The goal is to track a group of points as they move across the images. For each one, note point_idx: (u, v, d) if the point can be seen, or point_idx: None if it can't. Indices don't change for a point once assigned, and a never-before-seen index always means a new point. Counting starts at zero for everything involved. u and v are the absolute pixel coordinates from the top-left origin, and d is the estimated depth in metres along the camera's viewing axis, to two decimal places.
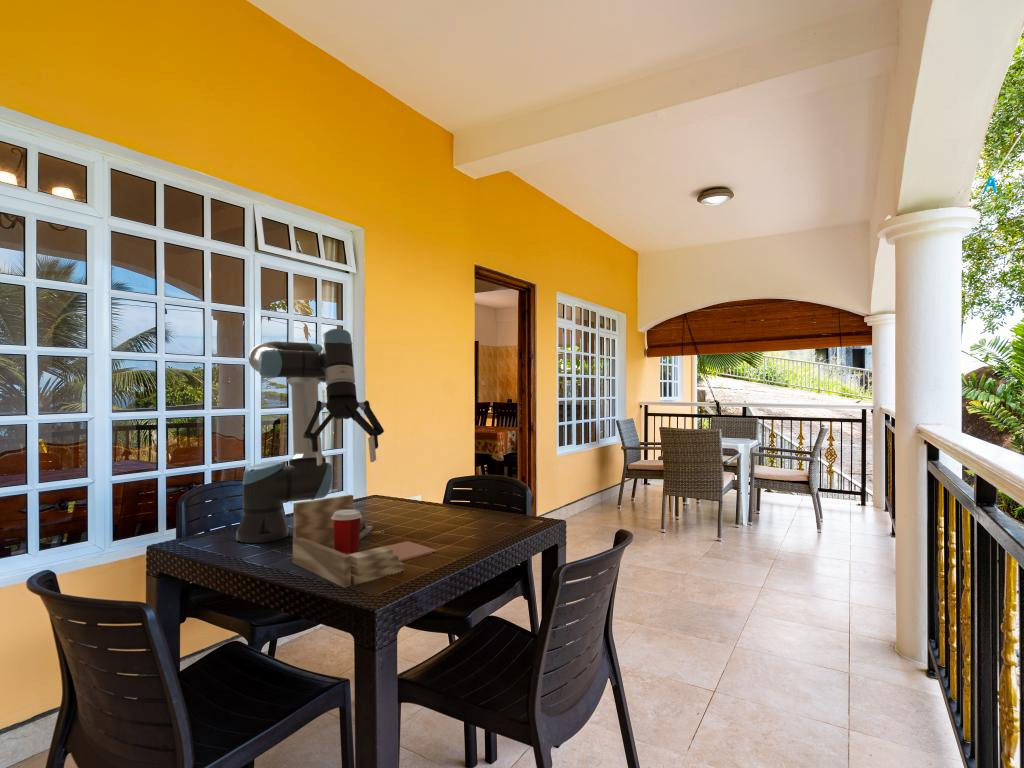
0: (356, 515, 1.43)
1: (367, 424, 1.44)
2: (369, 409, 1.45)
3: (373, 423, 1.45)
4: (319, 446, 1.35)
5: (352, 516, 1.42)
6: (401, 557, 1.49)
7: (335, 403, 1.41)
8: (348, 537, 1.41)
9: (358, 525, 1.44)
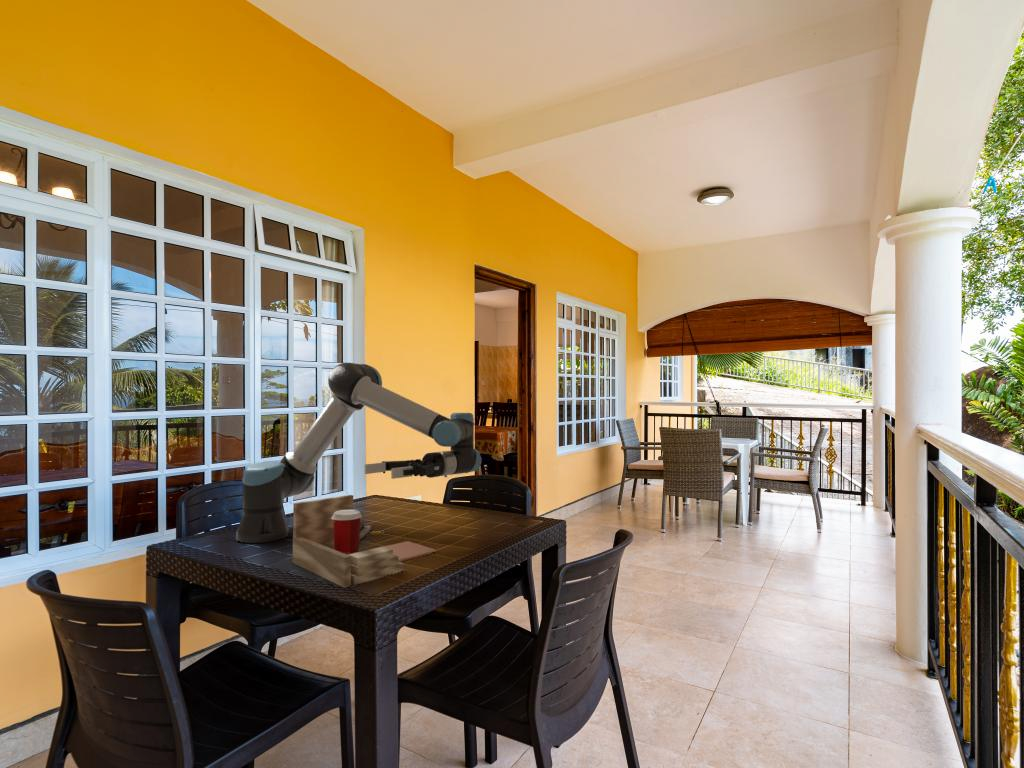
0: (356, 515, 1.43)
1: None
2: None
3: None
4: (405, 476, 1.50)
5: (352, 516, 1.42)
6: (401, 557, 1.49)
7: None
8: (348, 537, 1.41)
9: (358, 525, 1.44)
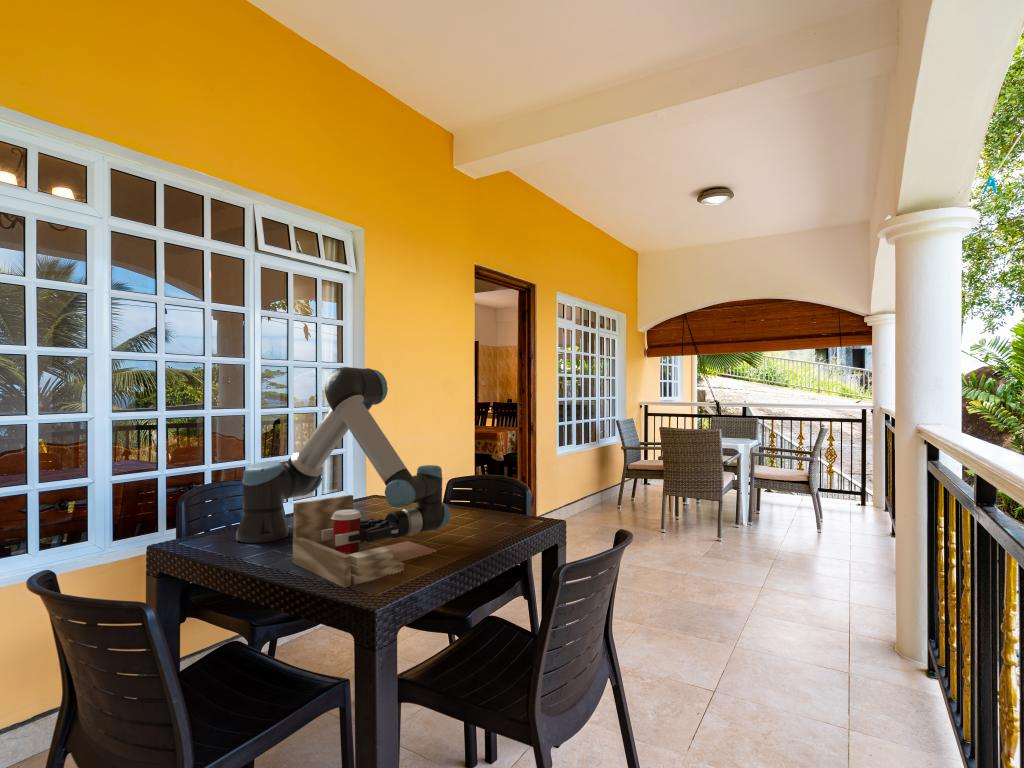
0: (356, 515, 1.43)
1: None
2: None
3: None
4: None
5: (352, 516, 1.42)
6: (401, 557, 1.49)
7: None
8: None
9: (358, 525, 1.44)
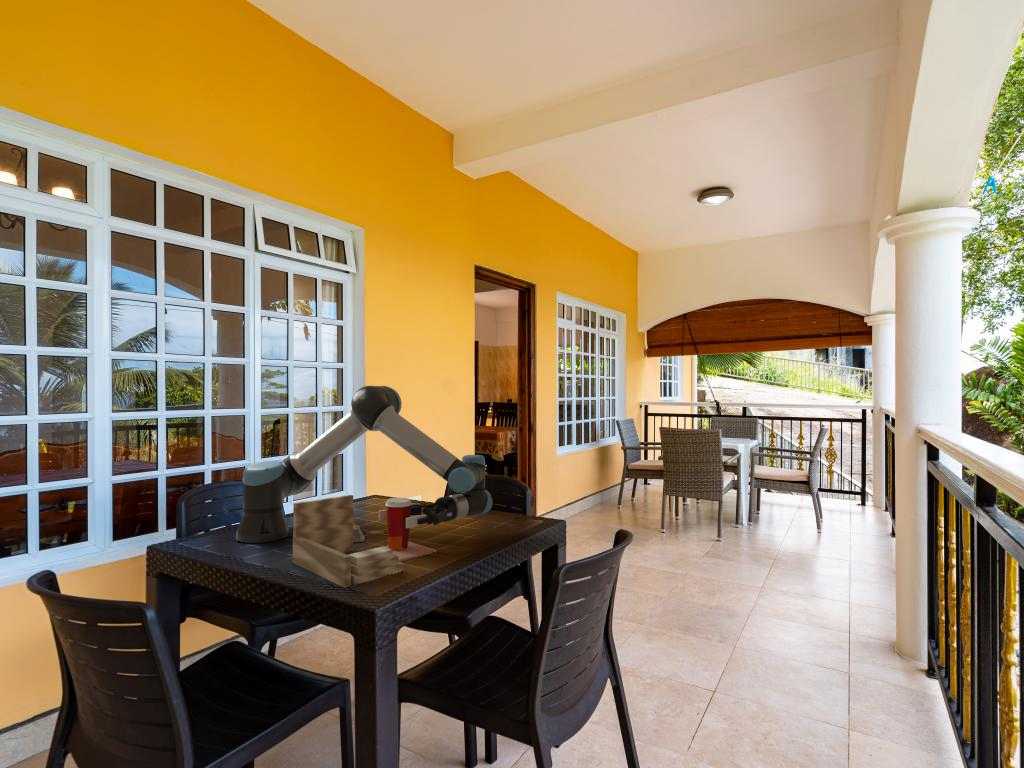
0: (408, 503, 1.56)
1: None
2: None
3: None
4: None
5: (404, 503, 1.55)
6: (401, 557, 1.49)
7: None
8: (401, 522, 1.55)
9: (409, 512, 1.57)
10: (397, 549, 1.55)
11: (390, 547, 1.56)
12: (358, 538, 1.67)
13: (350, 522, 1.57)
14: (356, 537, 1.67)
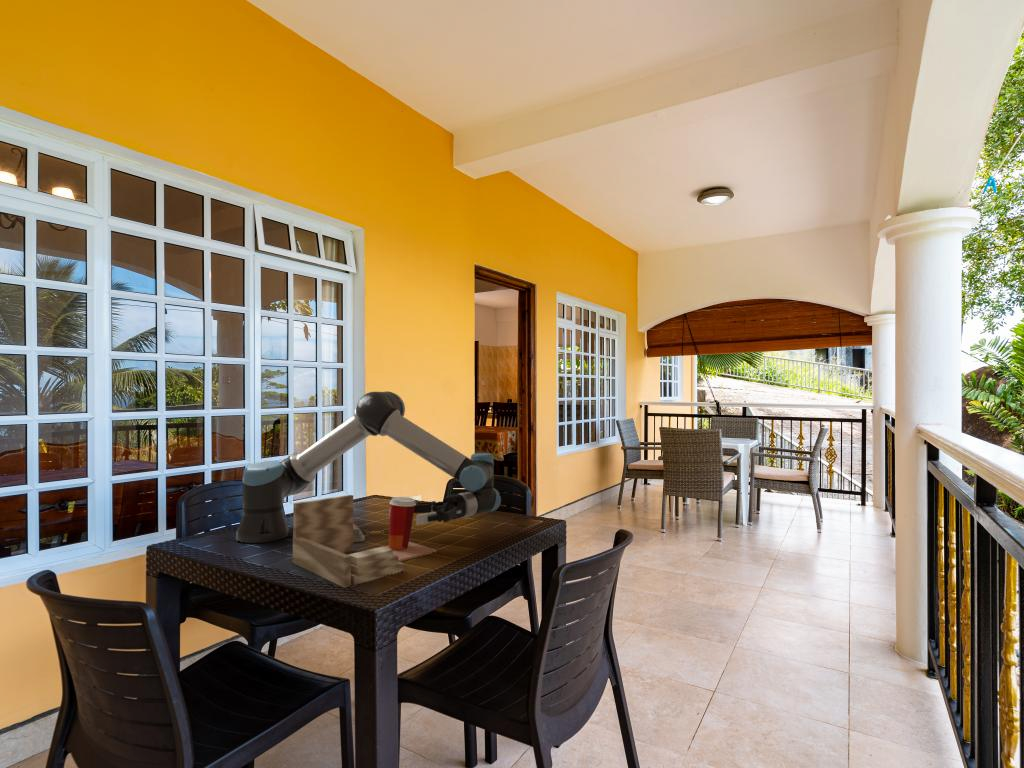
0: (412, 503, 1.56)
1: None
2: None
3: None
4: None
5: (409, 503, 1.56)
6: (401, 557, 1.49)
7: None
8: (403, 521, 1.55)
9: (412, 512, 1.57)
10: (397, 548, 1.55)
11: (390, 545, 1.56)
12: (359, 538, 1.67)
13: (350, 522, 1.57)
14: (357, 537, 1.67)
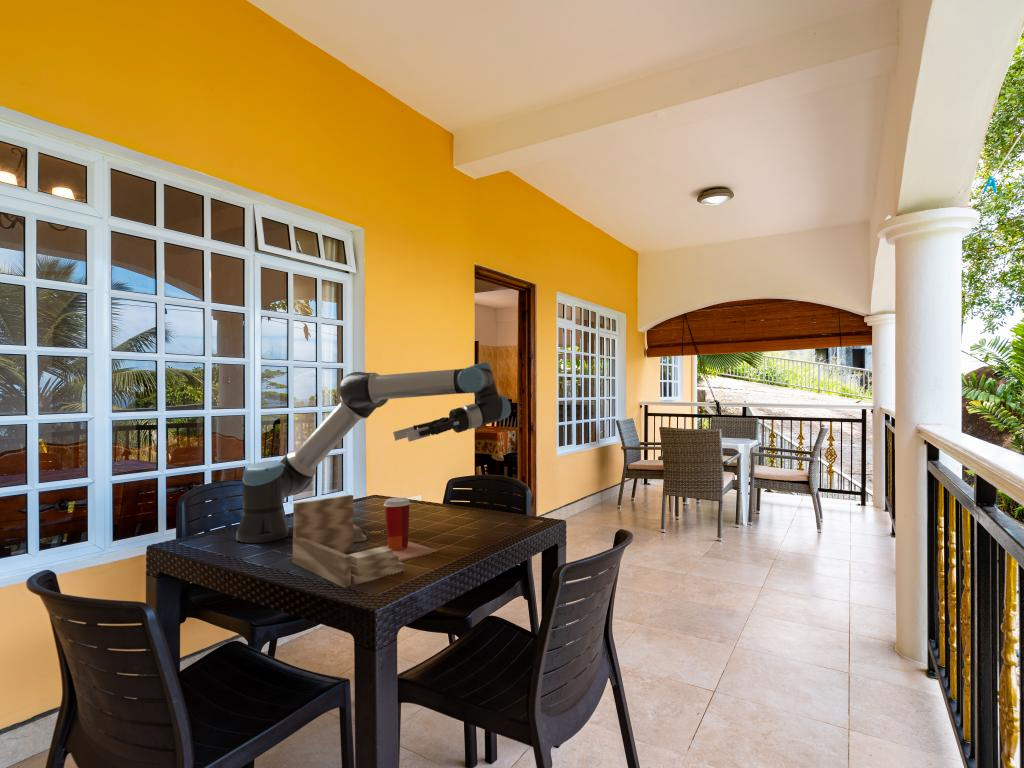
0: (406, 502, 1.56)
1: None
2: None
3: None
4: (422, 437, 1.56)
5: (403, 503, 1.56)
6: (401, 557, 1.49)
7: None
8: (400, 521, 1.55)
9: (408, 511, 1.57)
10: (397, 549, 1.55)
11: (390, 547, 1.56)
12: (361, 537, 1.68)
13: (350, 522, 1.57)
14: (359, 536, 1.68)
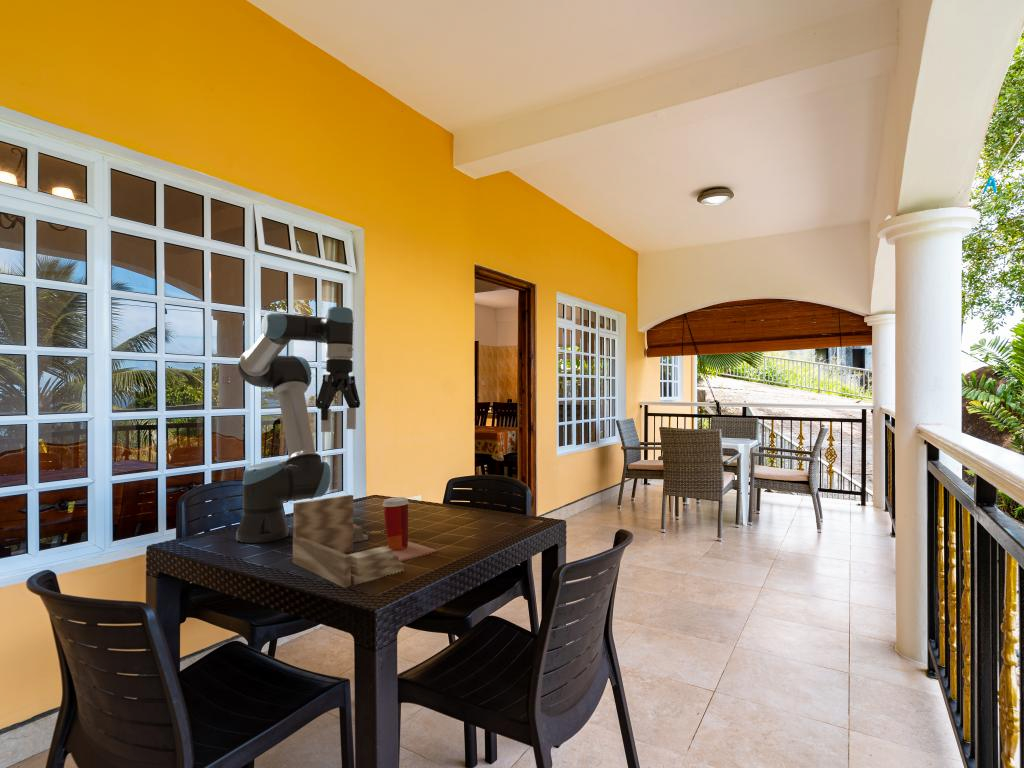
0: (405, 501, 1.57)
1: (353, 397, 1.67)
2: (354, 384, 1.68)
3: (354, 396, 1.69)
4: (330, 416, 1.54)
5: (402, 502, 1.56)
6: (401, 557, 1.49)
7: (339, 377, 1.59)
8: (399, 521, 1.55)
9: (407, 510, 1.58)
10: (398, 548, 1.55)
11: (390, 547, 1.56)
12: (362, 537, 1.68)
13: (350, 522, 1.57)
14: (360, 536, 1.68)
